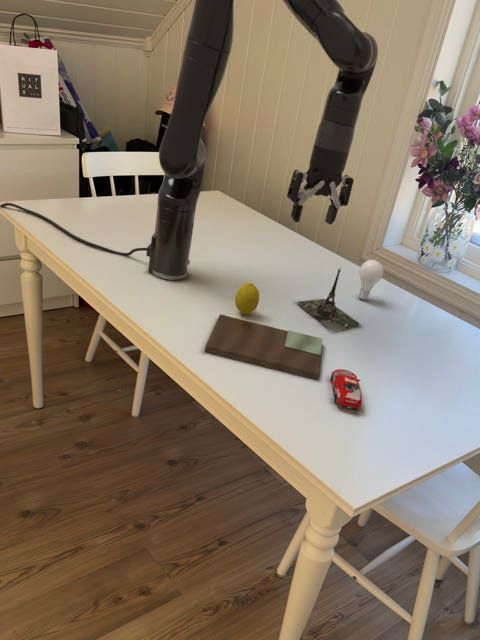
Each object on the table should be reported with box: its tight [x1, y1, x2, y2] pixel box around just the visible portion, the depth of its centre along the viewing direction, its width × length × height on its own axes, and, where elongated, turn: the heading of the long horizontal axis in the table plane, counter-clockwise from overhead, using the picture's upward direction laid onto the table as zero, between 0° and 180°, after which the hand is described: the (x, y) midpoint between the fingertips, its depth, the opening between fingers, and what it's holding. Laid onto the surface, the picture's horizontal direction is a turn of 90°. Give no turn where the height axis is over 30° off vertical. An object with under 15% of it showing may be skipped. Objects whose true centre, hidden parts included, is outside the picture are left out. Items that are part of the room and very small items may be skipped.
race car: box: [330, 368, 363, 411], centre depth 121 cm, size 13×5×4 cm, turn 177°
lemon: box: [234, 282, 260, 315], centre depth 140 cm, size 6×6×8 cm
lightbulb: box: [357, 259, 385, 301], centre depth 161 cm, size 6×6×11 cm
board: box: [204, 314, 323, 381], centre depth 131 cm, size 24×16×2 cm, turn 81°
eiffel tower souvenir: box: [296, 265, 362, 333], centre depth 147 cm, size 15×10×13 cm
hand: (311, 222), depth 134 cm, fingers open, 8 cm apart
